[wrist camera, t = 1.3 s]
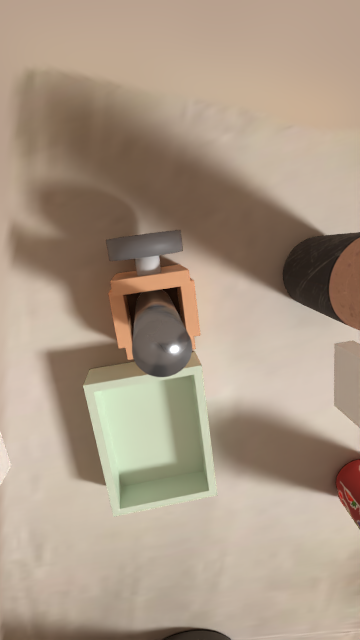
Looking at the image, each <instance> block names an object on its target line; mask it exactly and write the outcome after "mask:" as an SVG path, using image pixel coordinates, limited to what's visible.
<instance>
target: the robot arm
mask: <svg viewBox="0 0 360 640" xmlns="http://www.w3.org/2000/svg"><path fill="white" fill-rule="evenodd" d="M334 406H335V407H337V408H338V409H339V410H340V411H341V412H342V413H344V414H345V415H346V416H347V417H348V418H349V419H350V420H352V421H353V422H354V423H355V424H356V425H357V426H358V427H360V344H359V343H357V342H355V341H348V342H342V343H336V344H335V362H334ZM10 467H11V463H10V460H9V457H8V454H7V451H6V448H5V445H4V442H3V439H2V435H1V432H0V485H1V483H2V481H3V479H4V478H5V476H6V474H7V473H8V471H9V469H10ZM165 640H231V639H229V638H228V637H226V636H224V635H222V634H219V633H216V632H211V631H189V632H184V633H180V634H177V635H174V636H171V637H169V638H167V639H165Z"/></svg>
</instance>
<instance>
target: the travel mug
mask: <svg viewBox="0 0 360 640" xmlns="http://www.w3.org/2000/svg"><path fill="white" fill-rule="evenodd" d="M283 280H284V284H285V287H286V290H287V291H288V293H289V294H290V296H291V297H292V298H293V299H294V300H296V301H297V302H299V303H301V304H303V305H305V306H307V307H309V308H311V309H313V310H316V311H318V312H320V313H322V314H324V315H326V316H329V317H331V318H333V319H335V320H337V321H340V322H342V323H344V324H346V325H348V326H351V327H353V328H355V329H358V330H360V232H359V233H348V234H337V235H326V236H318V237H312V238H309V239H307V240H304V241H303V242H301V243H300V244H298V245H297V246H296V247H295V248H294V249H293V250H292V251H291V253H290V254H289V256H288V258H287V260H286V262H285V265H284V270H283Z"/></svg>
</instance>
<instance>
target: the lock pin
mask: <svg viewBox="0 0 360 640" xmlns="http://www.w3.org/2000/svg"><path fill="white" fill-rule="evenodd" d="M191 354H192V342H191V338H190V336H189V334H188V332H187V330H186V328H185V326H184V324H183V322H182V320H181V318H180V316H179V314H178V312H177V310H176V308H175V306H174V304H173V302H172V301H171V299H170V297H169V295H168V294H167V293H166V292H165V291H163V290H161V289H159V290H153V291H146V292H142V293H141V294H140V295H139V297H138V299H137V302H136V310H135V321H134V332H133V342H132V355H133V358H134V361H135V363H136V365H137V366H138V367H139V368H140V369H141V370H142V371H143V372H145V373H146V374H148V375H151V376H154V377H168V376H172V375H174V374H176V373H178V372H180V371H181V370H182V369H183V368H184V367H185V366H186V365H187V363H188V362H189V360H190V358H191Z"/></svg>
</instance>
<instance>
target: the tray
mask: <svg viewBox="0 0 360 640" xmlns="http://www.w3.org/2000/svg"><path fill="white" fill-rule="evenodd" d="M83 388H84V392H85V396H86V401H87V405H88V409H89V413H90V418H91V422H92V426H93V431H94V435H95V439H96V444H97V448H98V452H99V456H100V461H101V465H102V469H103V474H104V478H105V482H106V486H107V491H108V495H109V499H110V504H111V508H112V512H113V516H114V517H115V516H120V515H125V514H130V513H135V512H139V511H144V510H149V509H154V508H159V507H164V506H168V505H173V504H178V503H183V502H188V501H193V500H197V499H202V498H207V497H212V496H217V488H216V479H215V471H214V463H213V455H212V447H211V438H210V430H209V422H208V414H207V405H206V397H205V389H204V381H203V373H202V365H201V363H200V361H199V359H198V357H197V355H196V353H195V352H192V354H191V358H190V360H189V362H188V363H187V365H186V366H185V367H184V368H183V369H182V370H181V371H180V372H178V373H176V374H174V375H172V376H168V377H154V376H151V375H148V374H146V373H145V372H143V371H142V370H141V369H140V368H139V367H138V366H137V365H136V363H135V362H129V363H123V364H117V365H111V366H105V367H99V368H93V369H90V370H89V372H88V375H87V377H86V380H85V382H84V384H83Z"/></svg>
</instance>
